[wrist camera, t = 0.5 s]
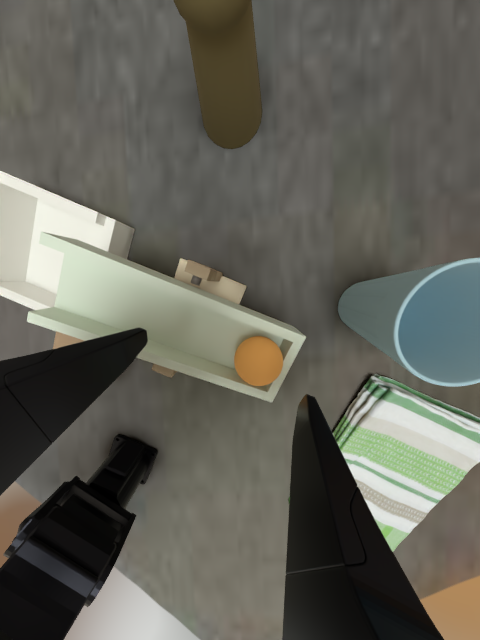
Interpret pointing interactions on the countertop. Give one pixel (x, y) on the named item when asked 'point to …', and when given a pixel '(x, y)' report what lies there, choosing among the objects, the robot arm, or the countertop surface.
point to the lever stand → (205, 289)
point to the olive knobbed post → (225, 68)
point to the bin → (36, 259)
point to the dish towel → (405, 452)
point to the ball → (258, 361)
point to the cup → (422, 320)
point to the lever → (158, 316)
